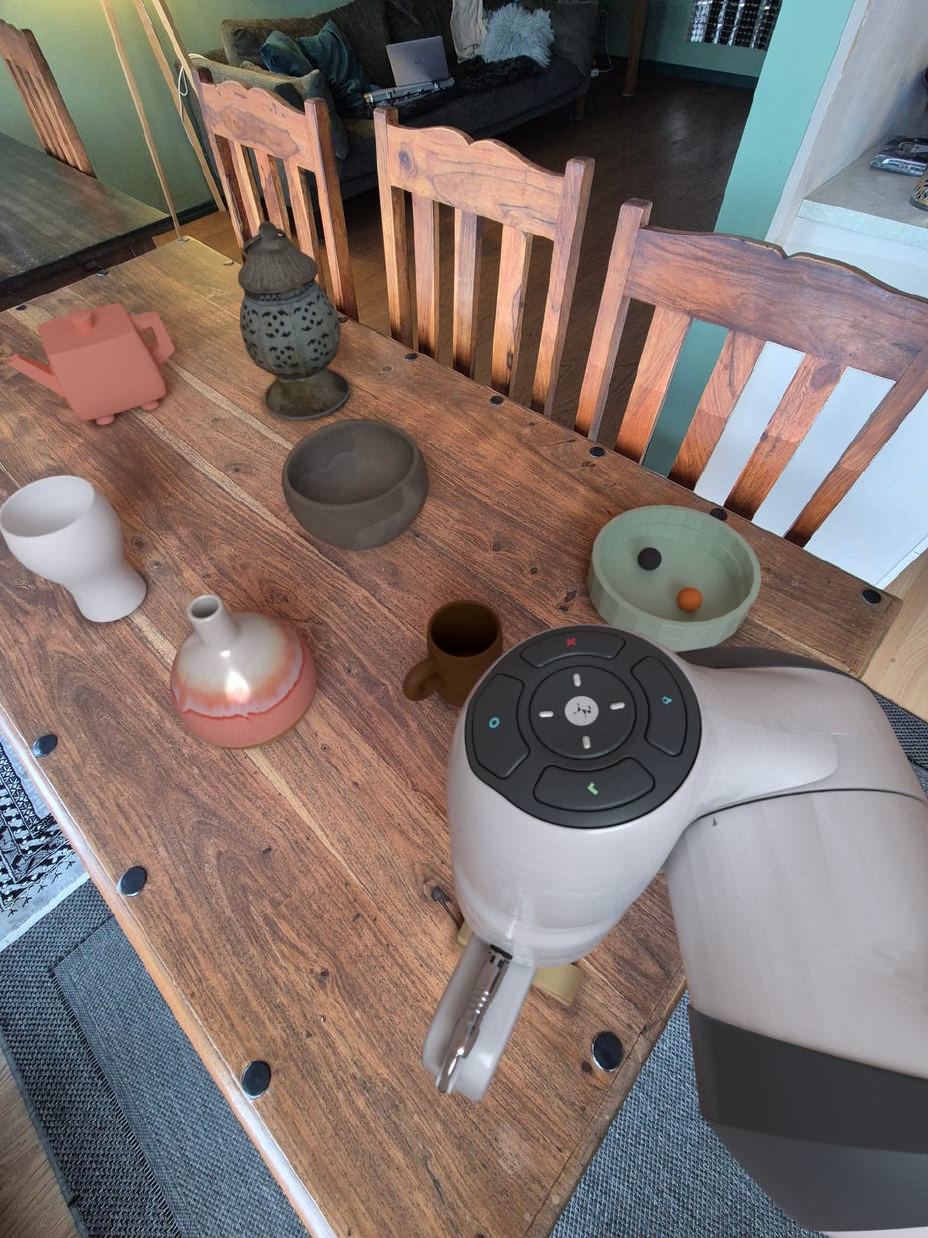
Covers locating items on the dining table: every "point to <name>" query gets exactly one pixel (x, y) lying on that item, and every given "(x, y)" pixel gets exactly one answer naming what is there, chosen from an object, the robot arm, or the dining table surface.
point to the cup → (73, 544)
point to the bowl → (355, 483)
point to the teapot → (101, 361)
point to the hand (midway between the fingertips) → (523, 924)
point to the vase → (240, 676)
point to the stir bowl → (673, 576)
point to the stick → (545, 975)
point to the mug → (456, 652)
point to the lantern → (290, 327)
